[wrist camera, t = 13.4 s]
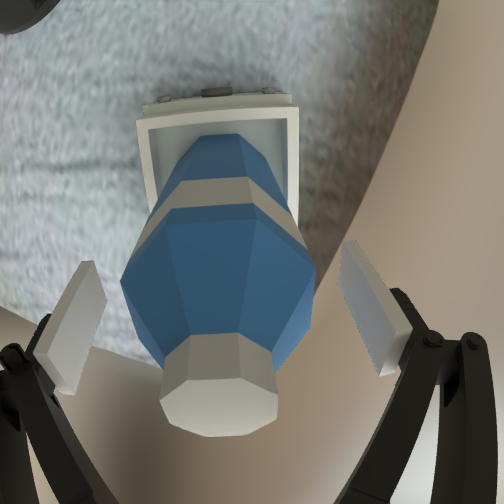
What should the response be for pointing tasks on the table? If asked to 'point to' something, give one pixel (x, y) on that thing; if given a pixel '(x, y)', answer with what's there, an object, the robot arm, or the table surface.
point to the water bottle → (220, 288)
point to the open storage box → (221, 122)
